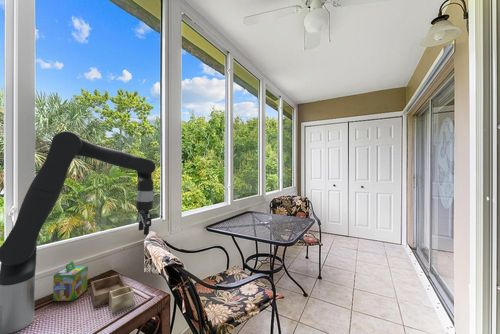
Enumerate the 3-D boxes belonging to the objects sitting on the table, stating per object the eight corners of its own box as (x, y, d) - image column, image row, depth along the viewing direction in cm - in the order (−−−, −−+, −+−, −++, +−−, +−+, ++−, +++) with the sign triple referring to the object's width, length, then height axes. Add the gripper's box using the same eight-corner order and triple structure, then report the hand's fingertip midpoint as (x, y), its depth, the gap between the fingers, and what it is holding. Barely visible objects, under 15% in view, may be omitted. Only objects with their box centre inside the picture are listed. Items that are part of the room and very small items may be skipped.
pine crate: (111, 313, 89) (112, 298, 89) (109, 305, 93) (109, 291, 93) (133, 305, 94) (133, 291, 94) (129, 298, 98) (130, 285, 98)
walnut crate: (94, 307, 91) (94, 296, 91) (90, 292, 102) (90, 281, 102) (126, 297, 99) (126, 286, 99) (119, 283, 110) (120, 274, 110)
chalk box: (74, 301, 95) (75, 267, 95) (51, 301, 94) (52, 267, 94) (88, 289, 104) (89, 258, 104) (67, 289, 104) (68, 258, 104)
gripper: (132, 198, 111) (131, 230, 111) (141, 202, 100) (139, 237, 100) (148, 197, 116) (146, 227, 116) (157, 201, 105) (156, 234, 105)
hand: (143, 232), depth 108 cm, fingers open, 8 cm apart
